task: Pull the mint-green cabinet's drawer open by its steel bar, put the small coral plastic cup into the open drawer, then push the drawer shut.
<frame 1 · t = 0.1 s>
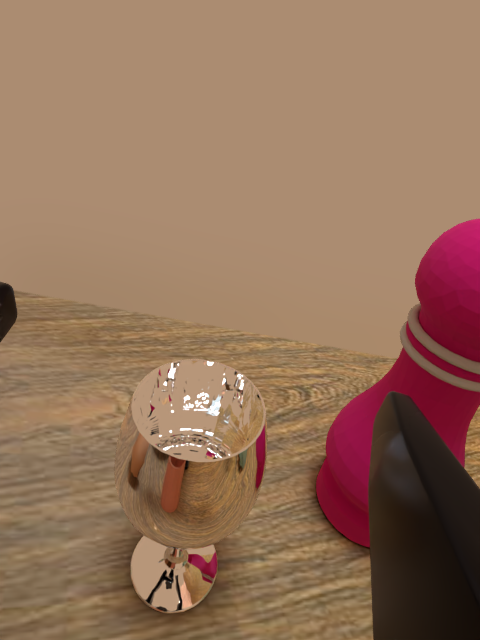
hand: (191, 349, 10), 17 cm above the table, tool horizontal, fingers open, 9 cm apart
wineglass: (174, 565, 21), on the table
pepper mill: (362, 501, 26), on the table
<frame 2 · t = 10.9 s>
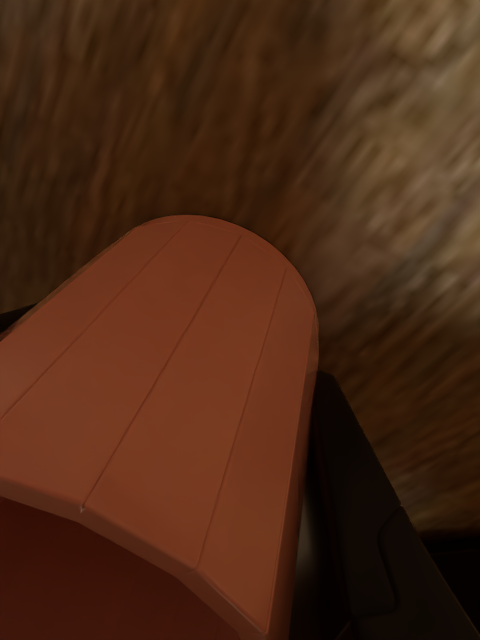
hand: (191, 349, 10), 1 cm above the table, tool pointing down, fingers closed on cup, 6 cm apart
cup: (203, 325, 10), on the table, touching gripper
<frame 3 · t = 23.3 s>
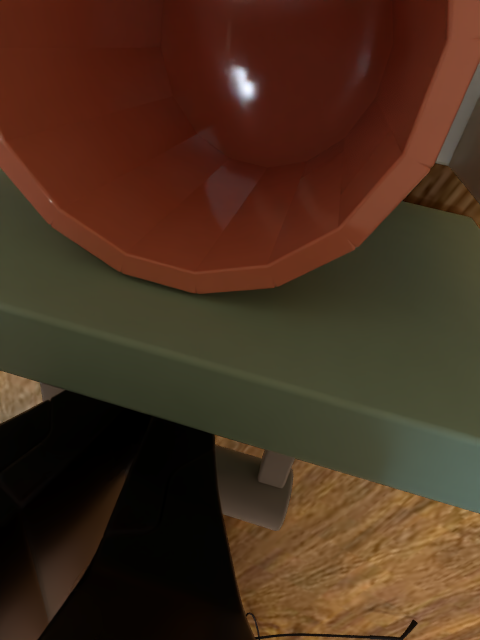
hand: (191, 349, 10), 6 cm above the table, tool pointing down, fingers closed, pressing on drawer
cup: (274, 46, 9), point 2 cm above the table, touching drawer
drawer: (243, 34, 7), point 5 cm above the table, slide at 8.2 cm, touching cup, gripper
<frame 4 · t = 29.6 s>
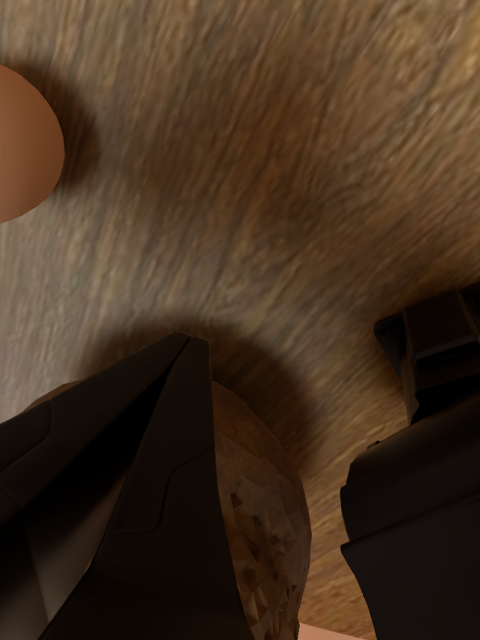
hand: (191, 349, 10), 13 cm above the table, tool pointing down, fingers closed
egg: (38, 127, 21), on the table
bowl: (193, 416, 31), on the table
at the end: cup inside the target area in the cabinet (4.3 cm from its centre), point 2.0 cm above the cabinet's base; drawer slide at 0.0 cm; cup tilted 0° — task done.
